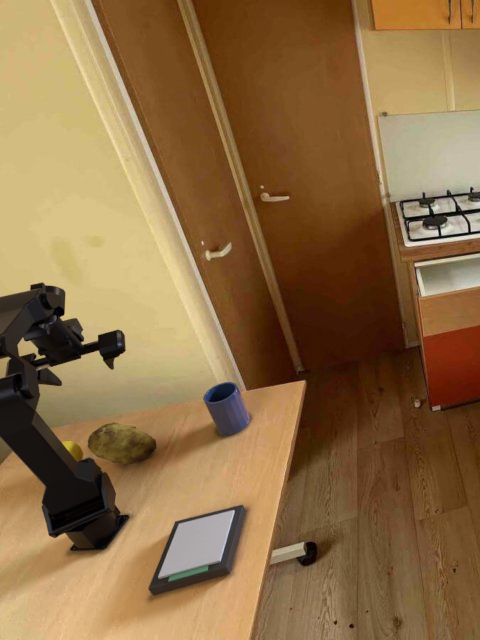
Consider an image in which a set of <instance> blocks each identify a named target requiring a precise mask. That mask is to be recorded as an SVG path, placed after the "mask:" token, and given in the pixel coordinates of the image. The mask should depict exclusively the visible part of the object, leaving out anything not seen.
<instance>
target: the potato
mask: <svg viewBox="0 0 480 640" xmlns="http://www.w3.org/2000/svg"><path fill="white" fill-rule="evenodd" d="M87 447H88V449H89V451H90V452H91V453H92V454H93V455H94V456H95V457H97V458H100V459H103V460H106V461H110V462H111V463H114V464H118V465H130V464H134V463H138V462H140V461H142V460H145V459H148V457H151V456H152V455H153V453H155V451H156V450H157V440H156V438H154V437H153V436H152V435H150V434H149V433H147V432H145V431H143V430H142V429H140V428H138V427H136V426H134V425H129V424H125V425H123V424H121V423H118V422H111V423H110V422H109V423H106V424H103V425H101V426H100V427H98V428H96V430H94V431H93V432H92V433H91V434H90V435H89V436H88V439H87Z"/></svg>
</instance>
